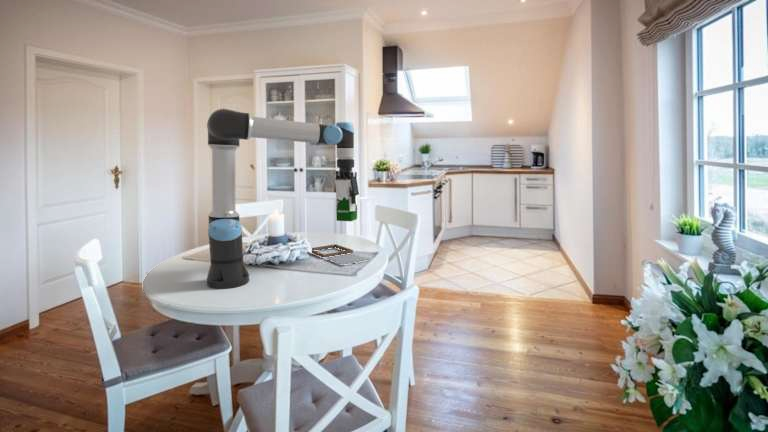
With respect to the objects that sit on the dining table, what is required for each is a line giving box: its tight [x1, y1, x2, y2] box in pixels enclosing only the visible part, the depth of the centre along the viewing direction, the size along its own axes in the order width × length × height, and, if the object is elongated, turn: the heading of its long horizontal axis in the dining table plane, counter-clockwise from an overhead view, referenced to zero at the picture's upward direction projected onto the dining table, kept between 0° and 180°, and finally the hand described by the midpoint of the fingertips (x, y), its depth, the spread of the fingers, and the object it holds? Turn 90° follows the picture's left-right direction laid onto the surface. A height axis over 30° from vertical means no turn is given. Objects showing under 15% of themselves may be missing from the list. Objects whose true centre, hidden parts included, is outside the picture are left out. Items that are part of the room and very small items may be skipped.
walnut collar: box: [311, 243, 354, 257], centre depth 212 cm, size 16×16×2 cm
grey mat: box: [327, 253, 370, 265], centre depth 198 cm, size 14×14×1 cm
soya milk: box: [334, 179, 358, 222], centre depth 194 cm, size 9×9×20 cm
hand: (346, 209), depth 195 cm, fingers closed on soya milk, 9 cm apart
